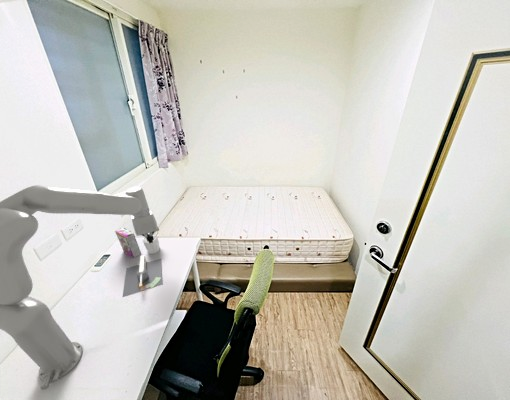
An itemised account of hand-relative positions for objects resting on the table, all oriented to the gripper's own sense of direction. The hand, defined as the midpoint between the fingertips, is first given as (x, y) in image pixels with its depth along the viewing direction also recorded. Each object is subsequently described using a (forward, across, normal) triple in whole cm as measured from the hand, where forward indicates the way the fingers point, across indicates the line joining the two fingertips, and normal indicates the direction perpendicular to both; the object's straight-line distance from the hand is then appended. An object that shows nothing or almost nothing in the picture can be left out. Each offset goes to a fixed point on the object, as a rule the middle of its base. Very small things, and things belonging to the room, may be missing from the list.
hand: (151, 241), depth 116 cm
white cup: (+16, -2, +13) cm, 21 cm away
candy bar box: (+16, -14, +16) cm, 27 cm away
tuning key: (+15, -7, -7) cm, 18 cm away
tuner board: (+16, -7, -7) cm, 19 cm away
